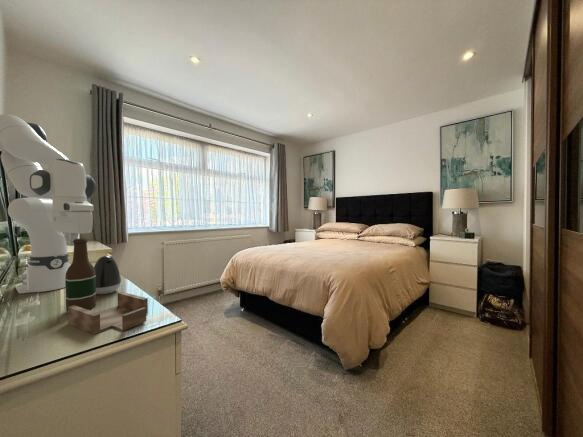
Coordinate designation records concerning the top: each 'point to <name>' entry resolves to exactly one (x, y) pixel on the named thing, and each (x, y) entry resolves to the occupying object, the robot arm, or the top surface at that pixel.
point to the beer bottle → (80, 278)
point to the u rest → (111, 315)
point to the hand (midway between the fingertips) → (71, 245)
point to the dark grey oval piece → (107, 275)
